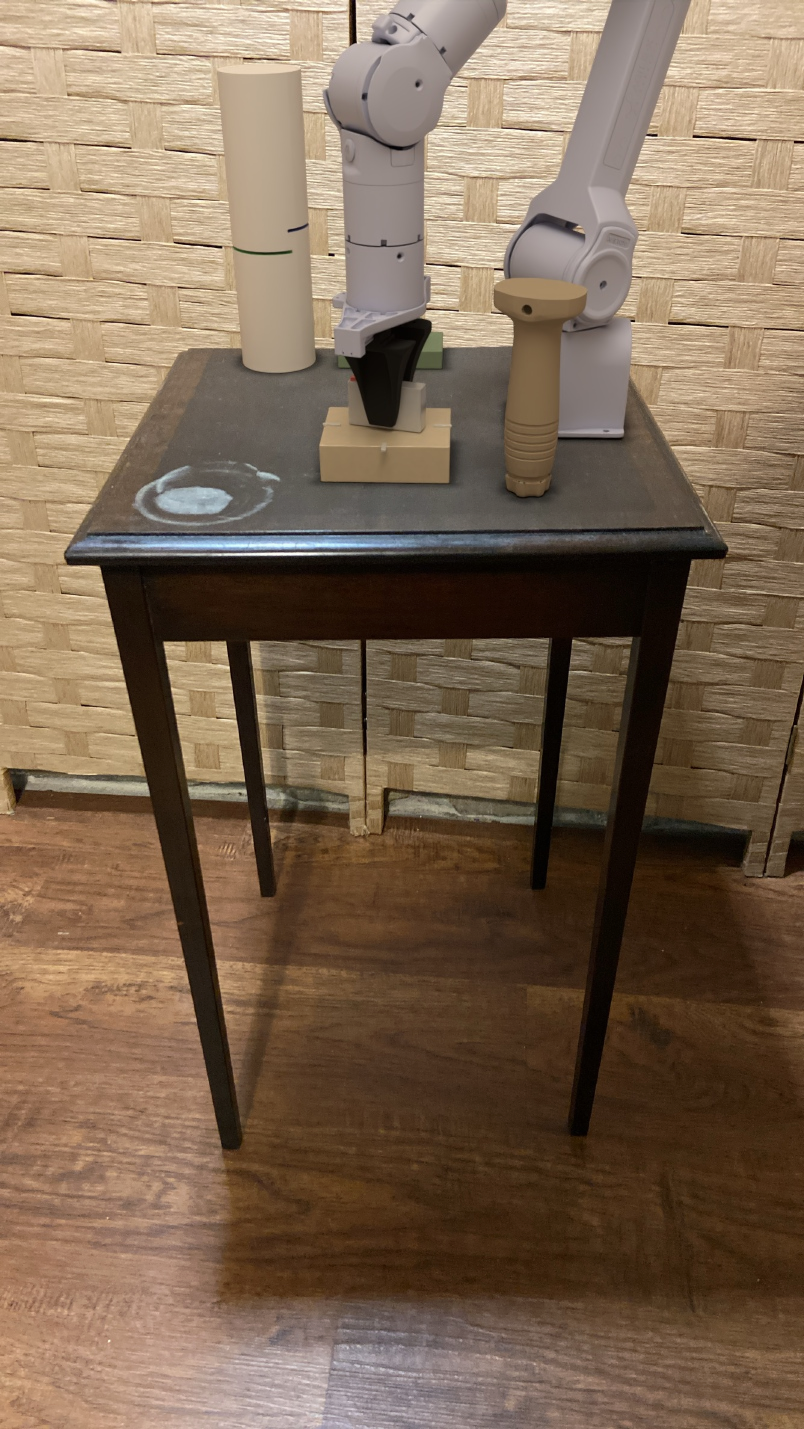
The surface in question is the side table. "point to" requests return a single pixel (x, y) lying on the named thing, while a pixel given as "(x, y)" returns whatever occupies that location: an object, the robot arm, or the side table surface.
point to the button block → (428, 356)
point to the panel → (385, 450)
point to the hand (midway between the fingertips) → (386, 419)
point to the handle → (534, 375)
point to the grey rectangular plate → (409, 410)
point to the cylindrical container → (268, 213)
